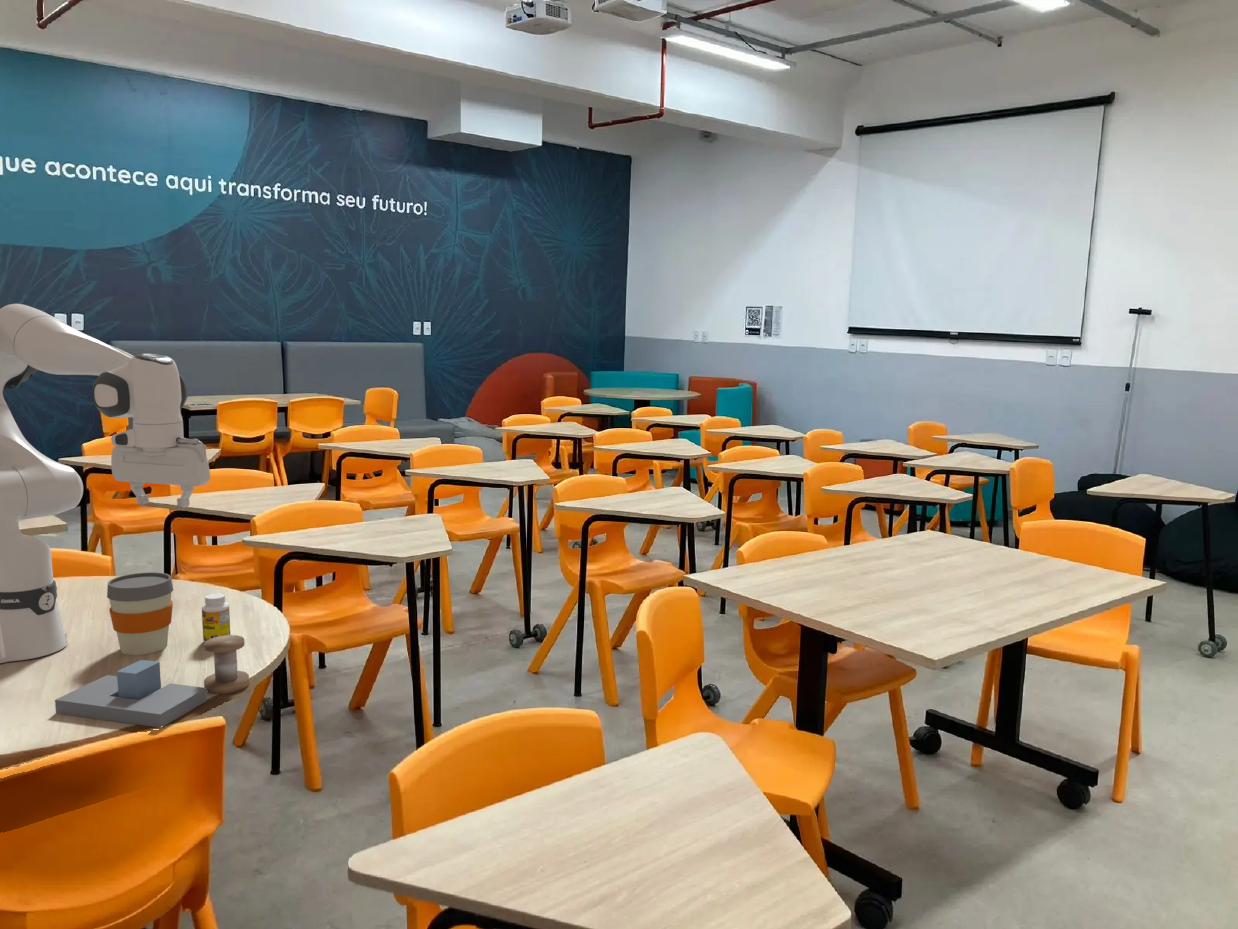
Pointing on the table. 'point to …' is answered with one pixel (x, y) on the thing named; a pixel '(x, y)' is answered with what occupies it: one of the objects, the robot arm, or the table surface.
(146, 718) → the notched board
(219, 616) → the supplement bottle
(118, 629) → the reusable coffee cup
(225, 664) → the bobbin post
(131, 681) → the blue-gray rectangular block
